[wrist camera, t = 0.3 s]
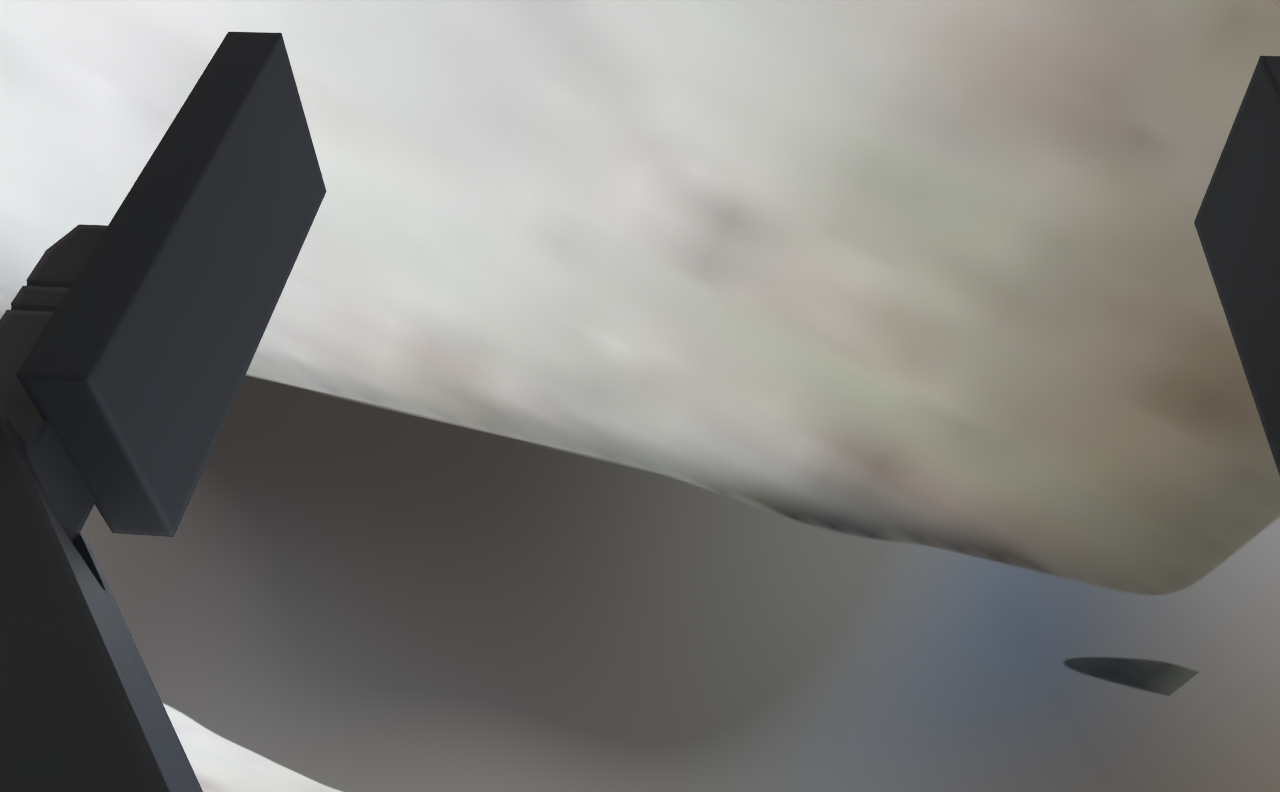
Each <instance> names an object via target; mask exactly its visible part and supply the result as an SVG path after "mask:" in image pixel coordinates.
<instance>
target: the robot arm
mask: <svg viewBox="0 0 1280 792" xmlns="http://www.w3.org/2000/svg"><path fill="white" fill-rule="evenodd" d="M325 193H326V189H325V185H324V182H323V178H322V175H321V171H320V168H319V164H318V160H317V157H316V153H315V150H314V146H313V143H312V139H311V136H310V132H309V129H308V125H307V122H306V118H305V115H304V111H303V108H302V104H301V101H300V97H299V93H298V90H297V86H296V83H295V79H294V76H293V72H292V69H291V65H290V62H289V58H288V55H287V51H286V48H285V44H284V41H283V37H282V33H255V32H228V34H227V35H226V37H225V38H224V40H223V42H222V43H221V45H220V46H219V48H218V50H217V51H216V53H215V55H214V56H213V58H212V59H211V61H210V63H209V64H208V66H207V67H206V69H205V71H204V72H203V74H202V75H201V77H200V79H199V80H198V82H197V84H196V85H195V87H194V88H193V90H192V92H191V93H190V95H189V96H188V98H187V100H186V101H185V103H184V104H183V106H182V108H181V109H180V111H179V113H178V114H177V116H176V117H175V119H174V121H173V122H172V124H171V125H170V127H169V129H168V130H167V132H166V134H165V135H164V137H163V138H162V140H161V142H160V143H159V145H158V146H157V148H156V150H155V151H154V153H153V154H152V156H151V158H150V159H149V161H148V163H147V164H146V166H145V167H144V169H143V171H142V172H141V174H140V175H139V177H138V179H137V180H136V182H135V183H134V185H133V187H132V188H131V190H130V192H129V193H128V195H127V196H126V198H125V200H124V201H123V203H122V204H121V206H120V208H119V209H118V211H117V213H116V214H115V216H114V217H113V219H112V221H111V222H110V224H109V225H108V226H102V225H78V226H77V227H75V228H74V229H73V230H72V231H70V232H69V233H68V234H67V235H65V236H64V237H63V238H61V239H60V240H59V241H58V242H56V243H55V244H54V245H53V246H51V247H50V248H49V249H47V250H46V251H45V253H44V255H43V256H42V258H41V259H40V261H39V262H38V264H37V265H36V267H35V268H34V270H33V271H32V273H31V274H30V276H29V277H28V279H27V286H22V288H21V289H20V291H19V292H18V294H17V295H16V297H15V298H14V300H13V301H12V303H11V306H12V308H11V310H7V311H6V312H5V314H4V315H3V317H2V318H1V320H0V792H203V791H202V789H201V787H200V784H199V782H198V780H197V778H196V776H195V774H194V771H193V769H192V767H191V765H190V763H189V760H188V758H187V756H186V754H185V752H184V750H183V747H182V745H181V743H180V741H179V739H178V736H177V734H176V732H175V730H174V728H173V726H172V723H171V721H170V719H169V717H168V715H167V712H166V710H165V708H164V706H163V704H162V702H161V699H160V697H159V695H158V693H157V691H156V688H155V686H154V684H153V682H152V680H151V678H150V675H149V673H148V671H147V669H146V667H145V665H144V662H143V660H142V658H141V656H140V654H139V651H138V649H137V647H136V645H135V643H134V641H133V638H132V637H131V634H130V632H129V630H128V627H127V625H126V623H125V621H124V619H123V617H122V614H121V612H120V610H119V608H118V606H117V604H116V601H115V599H114V597H113V595H112V593H111V590H110V588H109V586H108V584H107V582H106V579H105V578H104V575H103V573H102V571H101V569H100V566H99V564H98V562H97V560H96V558H95V555H94V553H93V551H92V549H91V547H90V545H89V543H88V542H87V540H86V539H85V537H84V536H83V534H82V532H81V529H82V527H83V525H84V523H85V521H86V519H87V517H88V515H89V513H90V511H91V509H92V507H93V506H94V504H95V505H96V507H97V509H98V510H99V512H100V513H101V515H102V517H103V518H104V520H105V522H106V523H107V525H108V526H109V528H110V530H111V531H112V533H120V534H137V535H152V536H167V537H174V535H175V533H176V531H177V528H178V526H179V524H180V522H181V519H182V517H183V515H184V513H185V510H186V508H187V506H188V504H189V501H190V499H191V497H192V494H193V492H194V490H195V488H196V485H197V483H198V481H199V478H200V476H201V474H202V472H203V470H204V467H205V465H206V463H207V460H208V458H209V456H210V454H211V451H212V449H213V447H214V445H215V442H216V440H217V438H218V435H219V433H220V431H221V429H222V427H223V424H224V422H225V420H226V417H227V415H228V413H229V410H230V408H231V406H232V404H233V401H234V399H235V397H236V395H237V392H238V390H239V388H240V386H241V383H242V381H243V379H244V377H245V374H246V372H247V370H248V368H249V365H250V363H251V361H252V359H253V356H254V354H255V352H256V349H257V347H258V345H259V343H260V340H261V338H262V336H263V334H264V331H265V329H266V327H267V325H268V322H269V320H270V318H271V316H272V313H273V311H274V309H275V306H276V304H277V302H278V300H279V297H280V295H281V293H282V291H283V288H284V286H285V284H286V282H287V279H288V277H289V275H290V272H291V270H292V268H293V266H294V263H295V261H296V259H297V257H298V254H299V252H300V250H301V248H302V245H303V243H304V241H305V239H306V236H307V234H308V232H309V229H310V227H311V225H312V223H313V220H314V218H315V216H316V214H317V211H318V209H319V207H320V205H321V202H322V200H323V198H324V195H325ZM1194 223H1195V226H1196V229H1197V232H1198V235H1199V238H1200V241H1201V244H1202V247H1203V250H1204V253H1205V256H1206V259H1207V262H1208V265H1209V268H1210V271H1211V274H1212V276H1213V279H1214V282H1215V285H1216V288H1217V291H1218V294H1219V297H1220V300H1221V303H1222V306H1223V309H1224V312H1225V315H1226V318H1227V321H1228V324H1229V327H1230V330H1231V333H1232V336H1233V339H1234V342H1235V345H1236V348H1237V351H1238V354H1239V356H1240V359H1241V362H1242V365H1243V368H1244V371H1245V374H1246V377H1247V380H1248V383H1249V386H1250V389H1251V392H1252V395H1253V398H1254V401H1255V404H1256V407H1257V410H1258V413H1259V416H1260V419H1261V422H1262V425H1263V428H1264V431H1265V434H1266V436H1267V439H1268V442H1269V445H1270V448H1271V451H1272V454H1273V457H1274V460H1275V463H1276V466H1277V469H1278V472H1279V475H1280V56H1260V58H1259V61H1258V63H1257V66H1256V68H1255V71H1254V73H1253V76H1252V78H1251V81H1250V84H1249V86H1248V89H1247V91H1246V94H1245V96H1244V99H1243V101H1242V104H1241V106H1240V109H1239V111H1238V114H1237V116H1236V119H1235V121H1234V124H1233V126H1232V129H1231V131H1230V134H1229V136H1228V139H1227V141H1226V144H1225V146H1224V149H1223V151H1222V154H1221V156H1220V159H1219V161H1218V164H1217V166H1216V169H1215V171H1214V174H1213V176H1212V179H1211V181H1210V184H1209V186H1208V189H1207V191H1206V194H1205V196H1204V199H1203V201H1202V204H1201V207H1200V209H1199V212H1198V214H1197V217H1196V219H1195V222H1194Z"/></svg>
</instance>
